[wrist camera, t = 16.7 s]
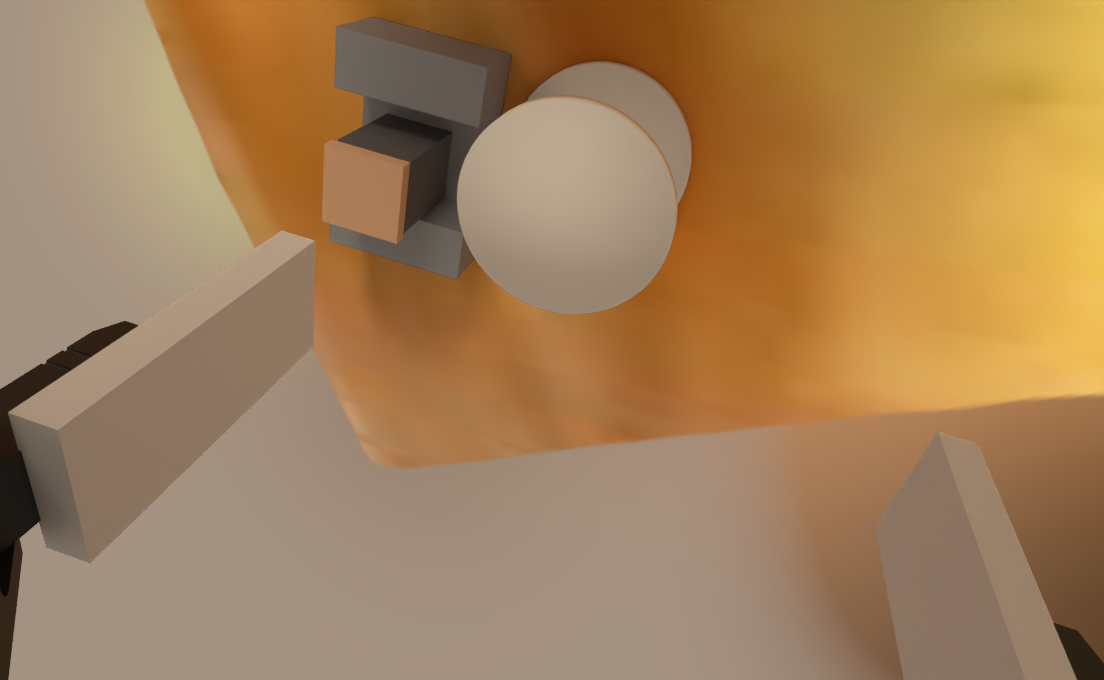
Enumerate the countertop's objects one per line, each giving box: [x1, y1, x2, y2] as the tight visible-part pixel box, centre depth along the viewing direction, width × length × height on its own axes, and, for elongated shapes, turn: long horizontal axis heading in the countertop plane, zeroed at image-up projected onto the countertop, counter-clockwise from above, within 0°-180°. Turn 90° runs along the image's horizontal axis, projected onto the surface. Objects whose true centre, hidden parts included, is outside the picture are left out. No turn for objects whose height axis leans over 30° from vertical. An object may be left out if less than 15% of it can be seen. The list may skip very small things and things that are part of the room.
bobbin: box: [457, 61, 692, 314], centre depth 36 cm, size 10×10×10 cm
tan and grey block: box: [322, 113, 453, 244], centre depth 39 cm, size 4×4×7 cm
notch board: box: [330, 17, 512, 280], centre depth 40 cm, size 12×8×4 cm, turn 168°
